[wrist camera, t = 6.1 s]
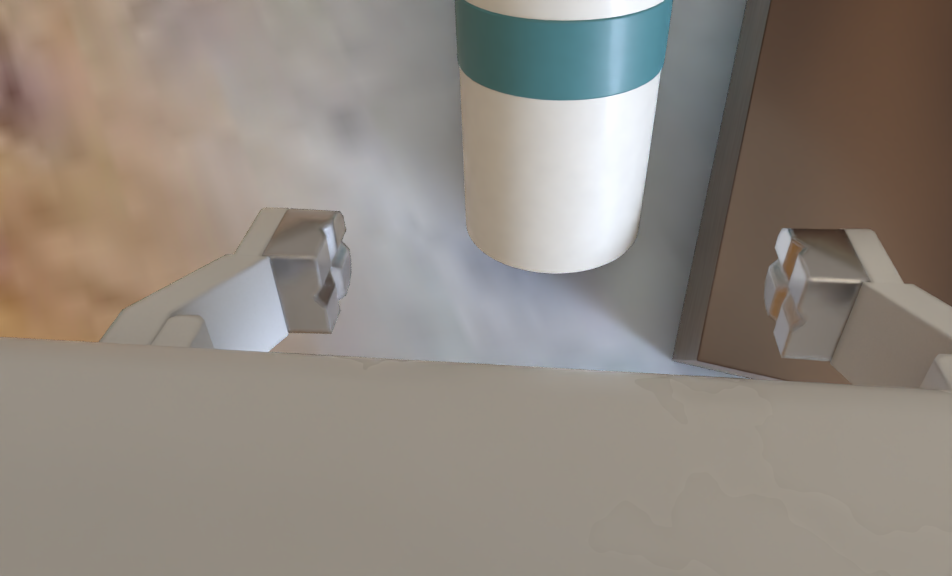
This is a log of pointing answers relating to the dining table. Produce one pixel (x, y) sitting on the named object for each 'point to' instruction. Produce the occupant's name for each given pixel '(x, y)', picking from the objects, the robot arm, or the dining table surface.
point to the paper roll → (557, 125)
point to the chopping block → (822, 164)
